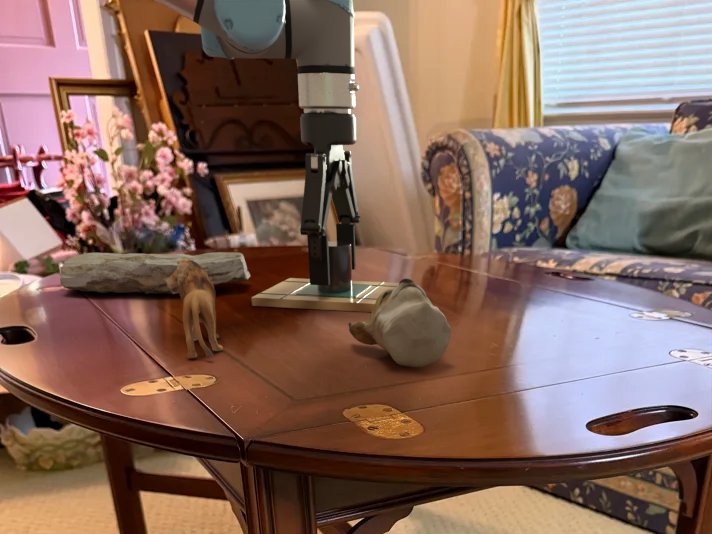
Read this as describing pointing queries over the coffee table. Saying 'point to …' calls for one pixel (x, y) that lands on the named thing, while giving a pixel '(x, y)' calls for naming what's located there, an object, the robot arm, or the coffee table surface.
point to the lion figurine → (195, 304)
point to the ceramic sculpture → (405, 326)
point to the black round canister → (339, 268)
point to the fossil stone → (144, 271)
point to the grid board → (322, 296)
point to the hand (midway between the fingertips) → (334, 276)
